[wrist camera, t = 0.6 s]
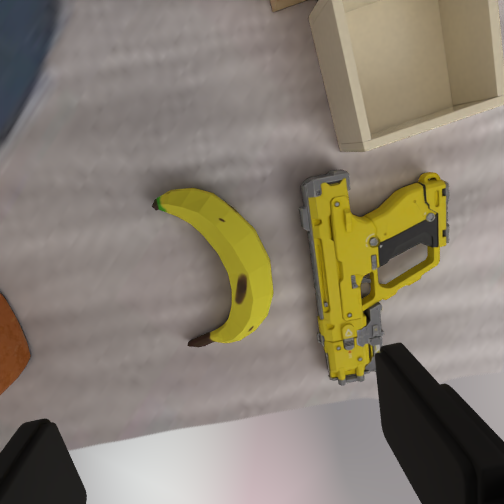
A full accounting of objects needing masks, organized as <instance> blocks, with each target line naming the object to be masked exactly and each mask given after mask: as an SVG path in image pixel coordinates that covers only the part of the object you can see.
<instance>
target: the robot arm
mask: <svg viewBox="0 0 504 504" xmlns="http://www.w3.org/2000/svg"><path fill="white" fill-rule="evenodd" d="M375 365H376V375H377V385H378V394H379V403H380V414H381V424H382V430H383V433H384V436H385V438H386V440H387V442H388V444H389V446H390V448H391V449H392V451H393V453H394V455H395V457H396V458H397V460H398V462H399V464H400V466H401V467H402V469H403V471H404V472H405V475H406V476H407V478H408V480H409V482H410V484H411V485H412V487H413V489H414V491H415V493H416V494H417V496H418V498H419V500H420V501H421V503H422V504H504V442H503V440H502V439H501V438H500V437H499V436H498V435H497V434H496V433H495V432H494V431H493V430H492V429H491V428H490V427H489V426H488V425H487V424H486V423H485V422H484V421H483V419H481V417H480V416H479V415H478V414H477V413H476V412H475V411H474V410H473V409H472V408H471V407H470V406H469V405H468V404H467V403H466V402H465V401H464V400H463V399H462V398H461V397H460V395H459V394H458V393H457V392H456V391H455V390H454V389H453V388H451V387H450V386H449V385H447V384H439V383H438V382H437V381H436V380H435V379H434V378H433V377H432V376H431V374H430V373H429V372H428V371H427V370H426V369H425V368H424V367H423V366H422V365H421V364H420V362H419V361H418V360H417V359H416V358H415V357H414V356H413V355H412V354H411V353H410V352H409V350H408V349H407V348H406V347H405V346H404V345H403V344H402V343H395V344H390V345H386V346H381V347H380V352H378V353H375ZM86 497H87V495H86V490H85V488H84V485H83V483H82V481H81V479H80V477H79V474H78V472H77V470H76V468H75V466H74V463H73V461H72V459H71V457H70V454H69V452H68V450H67V448H66V445H65V443H64V441H63V439H62V437H61V434H60V432H59V430H58V428H57V426H56V424H55V423H52V422H50V421H49V420H48V419H40V420H35V421H30V422H26V423H24V424H22V425H21V426H20V427H19V428H18V430H17V431H16V432H15V434H14V435H13V437H12V438H11V439H10V441H9V442H8V443H7V445H6V446H5V447H4V449H3V450H2V451H1V453H0V504H86V500H87V498H86Z"/></svg>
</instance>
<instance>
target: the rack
mask: <svg viewBox="0 0 504 504" xmlns="http://www.w3.org/2000/svg"><path fill="white" fill-rule="evenodd" d="M304 1H307V0H270V3H271V6H272V10H273V12H275V11H278V10H281V9H284V8H287V7H289V6H292V5H295V4H298V3H301V2H304Z"/></svg>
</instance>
